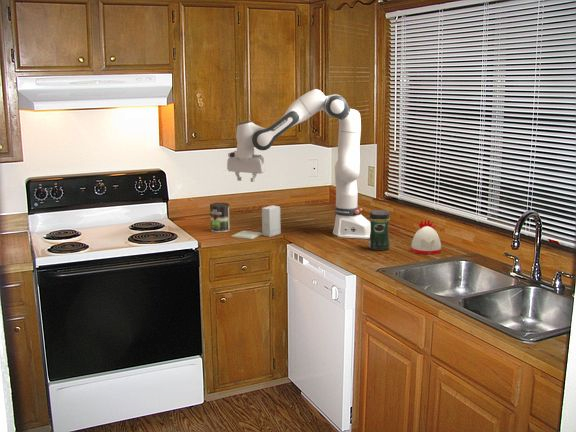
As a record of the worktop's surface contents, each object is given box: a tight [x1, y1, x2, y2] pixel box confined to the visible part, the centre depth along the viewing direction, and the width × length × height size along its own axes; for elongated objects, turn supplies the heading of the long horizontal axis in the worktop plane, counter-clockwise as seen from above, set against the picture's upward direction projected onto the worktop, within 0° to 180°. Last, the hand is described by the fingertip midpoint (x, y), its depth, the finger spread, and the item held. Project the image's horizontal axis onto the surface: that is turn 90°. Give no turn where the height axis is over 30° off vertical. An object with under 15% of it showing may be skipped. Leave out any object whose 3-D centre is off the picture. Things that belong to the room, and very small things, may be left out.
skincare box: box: [261, 204, 282, 238], centre depth 336 cm, size 8×6×15 cm
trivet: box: [230, 230, 263, 240], centre depth 337 cm, size 12×12×1 cm
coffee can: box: [209, 202, 231, 233], centre depth 348 cm, size 10×10×14 cm
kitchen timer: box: [410, 218, 442, 255], centre depth 304 cm, size 14×14×15 cm
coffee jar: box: [368, 209, 391, 251], centre depth 308 cm, size 10×8×19 cm
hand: (246, 181), depth 331 cm, fingers open, 6 cm apart
